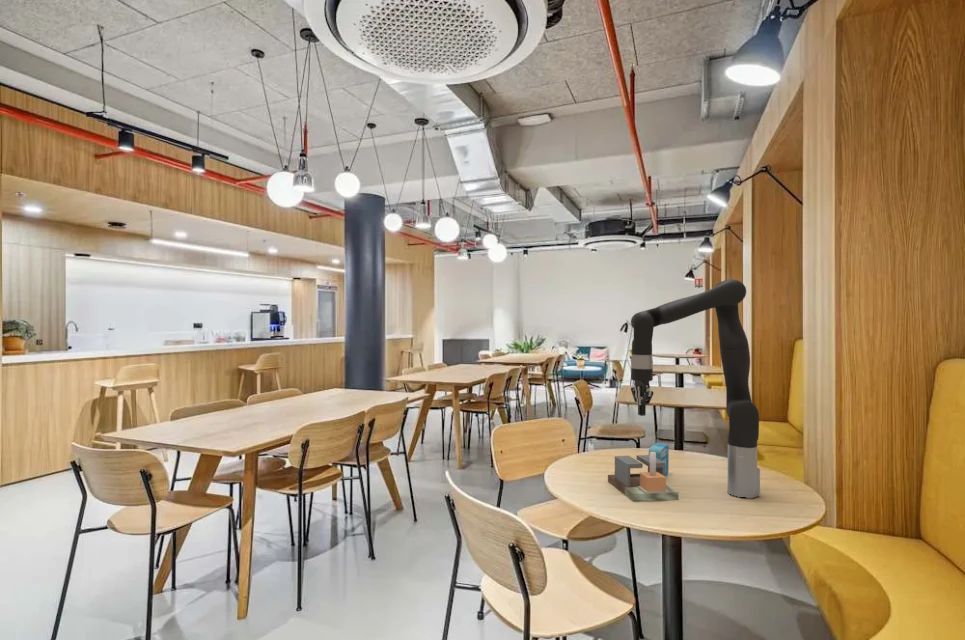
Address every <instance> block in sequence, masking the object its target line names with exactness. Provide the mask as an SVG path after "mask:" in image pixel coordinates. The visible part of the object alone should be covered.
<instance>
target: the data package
mask: <svg viewBox="0 0 965 640" xmlns="http://www.w3.org/2000/svg"><path fill="white" fill-rule="evenodd" d="M669 451H670V450H669V444H666V443H654V445H652V446H650V447H649V449H648V455H650V452H656V458H657V459H659V460H661V461H663V462H665V477H666V478H667V476H668V474H669V465H670V464H669Z"/></svg>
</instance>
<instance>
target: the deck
mask: <svg viewBox="0 0 965 640" xmlns="http://www.w3.org/2000/svg"><path fill="white" fill-rule="evenodd" d="M607 482H608V483H609V484H610V485H612V486H613V487H614V488H616V489H617V490H618V491H619V490H620V491H619V492H621V493H622V494H623V495H624V496H625V497H627V498H629V500H631V501H632V502H635V503H637V502H638V503H639V502H654V501H657V502H658V501H675V500H676V501H677V500H679V494H680V493H679V491H677V490H676V489H675V488H672V487H671V486H669V485H668V484H666V490H667V491H668V493H648V494H646V493H644V492H643V491H641V490H640V489H639V488H638V486H640V473H630V487H626V486H625V485H624V484H622V483H621V482H620V481H618V480H617V479H616V478H615V473H614V474H608V475H607Z"/></svg>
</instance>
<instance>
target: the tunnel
mask: <svg viewBox="0 0 965 640" xmlns="http://www.w3.org/2000/svg"><path fill="white" fill-rule="evenodd" d="M643 465H646V466H647V472H650V455H649V454H644V455H642V454H641V455H640V454H639V455H636V458H634V457H633V456H630V455H615V456H614V474H615V478H616V479H617V480H618V481H620V482H621V483H622V484H624V485H625V486H626V487H630V474H631V469H643ZM656 472H658V473H660V474H662V475H663V476H665V462H663V461H661V460H659V459H657V458H656Z"/></svg>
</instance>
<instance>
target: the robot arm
mask: <svg viewBox="0 0 965 640" xmlns="http://www.w3.org/2000/svg"><path fill="white" fill-rule="evenodd" d="M746 296H747V288H746V286H745V284H744V283H743V281H741V280H738V279H733V278H730V279H725V280H723V281H720V282H718V283H717V284H715V285H714V287H712V288H711V289H708V290H706V291H705V290H704V292H703V291H702V292H701V293H700V292H699V293H697V294H693V295H690V296H687V297H682V298H680V299H676V300H673V301H670V302H667V303H663V304H661V305H658V306H655V307H654V308H650V309H645V310H642V311H638V312H636V313H634V314H633V315H632V317H631V319H630V326H631V327H632V328H633V338H632V341H631V342H632V343H631V358H630V359H631V360H630V380H631V381H634V382H633V387H630V391H631V392H630V393H632V397H633V400H634V403H636V405H637V415H638V416H640V417H644V416H646V413H647V411H646V410H647V409H646V406H647V405H650V402H651V400H652V398H653V395H654V391H653V390H651V389H650V388H651V385H650V382H652V381H653V380H654V375H653V374H654V361H653V360H654V359H653V336H654V328H655V327H658V326H661V325H666V324H670V323H674V322H677V321H680V320H682V319H685V318H688V317H690V316H693V315H696V314H698V313H701V312H705V311H707V310H710V309H715V313H716V317H717V326H718V329H717V330H718V340H719V351H720V353H719V354H720V360H721V366H722V372H723V377H724V380H725V388H726V391H725V393H726V394H725V395H726V396H725V397H726V398H725V401H726V403H725V405H726V407H725V408H726V409H725V410H726V411H725V412H726V414H727V417H728V418H729V419H728V435H727V493H728V494H729V495H730V494H731V496H733V495H734V496H733V497H736V496H737V498H740V497H746V498H745V499H753V498H752V497H756V496H758V495H760V496H761V474H760V473H761V469H760V468H759V467H758V440H759V436H760V433H759V432H760V413H759V409H758V408H757V405H755V404H754V403H753V400H752V398H751V392H750V385H749V377H750V368H751V354H750V353H751V352H750V347H749V340H748V338H747V335H746V332H745V330H744V327H743V325H742V323H741V319H740V315H739V314H740V313H739V304H740V303H741V302H742V301H743V300H744V299H745V298H746ZM758 497H759V496H758ZM756 498H757V497H756Z"/></svg>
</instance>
